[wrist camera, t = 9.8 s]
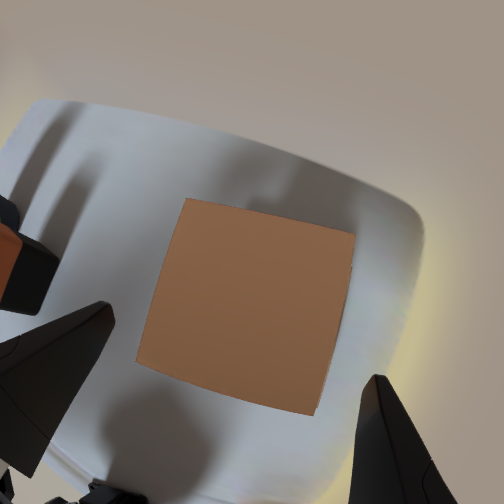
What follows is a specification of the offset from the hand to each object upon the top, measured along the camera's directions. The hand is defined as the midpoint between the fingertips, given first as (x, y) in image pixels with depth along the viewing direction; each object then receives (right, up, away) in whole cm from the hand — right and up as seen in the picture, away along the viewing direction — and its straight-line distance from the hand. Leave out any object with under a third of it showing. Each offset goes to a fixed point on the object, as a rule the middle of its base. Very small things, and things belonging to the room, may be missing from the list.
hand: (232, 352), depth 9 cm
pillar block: (+1, -1, +8) cm, 9 cm away
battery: (-21, 0, +15) cm, 26 cm away
